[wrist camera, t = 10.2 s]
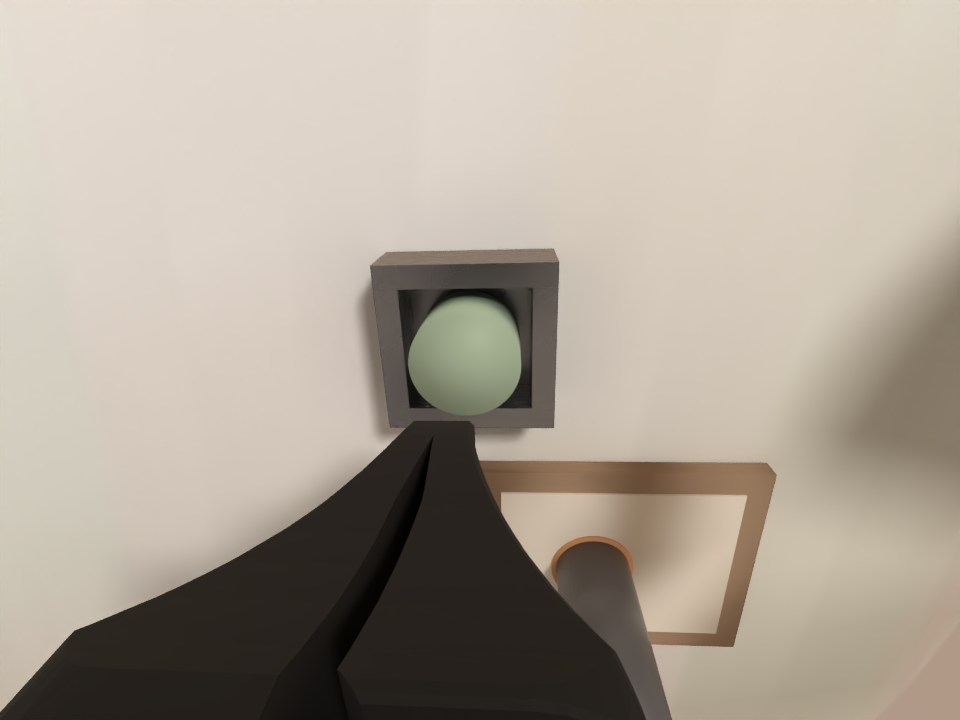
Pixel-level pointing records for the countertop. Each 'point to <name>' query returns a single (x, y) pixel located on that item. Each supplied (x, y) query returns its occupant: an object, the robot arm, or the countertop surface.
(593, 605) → the marker
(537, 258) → the button housing
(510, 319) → the button
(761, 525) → the board
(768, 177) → the countertop surface
